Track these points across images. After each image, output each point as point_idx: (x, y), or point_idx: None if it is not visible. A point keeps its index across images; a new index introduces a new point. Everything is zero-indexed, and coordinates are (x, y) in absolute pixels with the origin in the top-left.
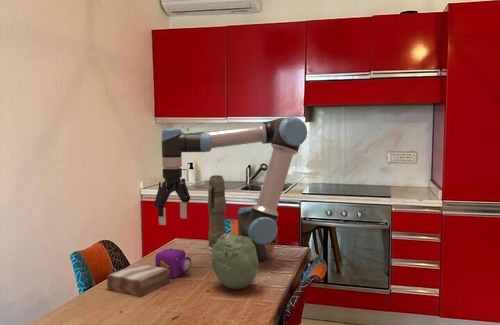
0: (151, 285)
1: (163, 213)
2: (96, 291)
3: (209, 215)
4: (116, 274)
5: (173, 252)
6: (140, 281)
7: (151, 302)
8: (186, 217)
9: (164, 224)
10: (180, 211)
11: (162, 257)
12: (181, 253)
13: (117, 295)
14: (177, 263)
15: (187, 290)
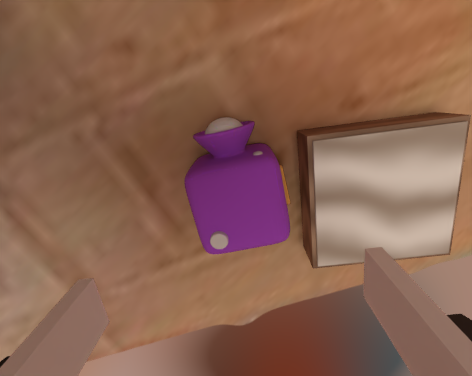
0: (399, 119)
1: (457, 340)
2: None
3: None
4: (438, 237)
5: (246, 189)
6: (466, 123)
7: (463, 49)
8: (79, 284)
9: (385, 251)
10: (77, 372)
11: (286, 204)
12: (218, 167)
13: None
14: (254, 150)
15: (327, 23)
